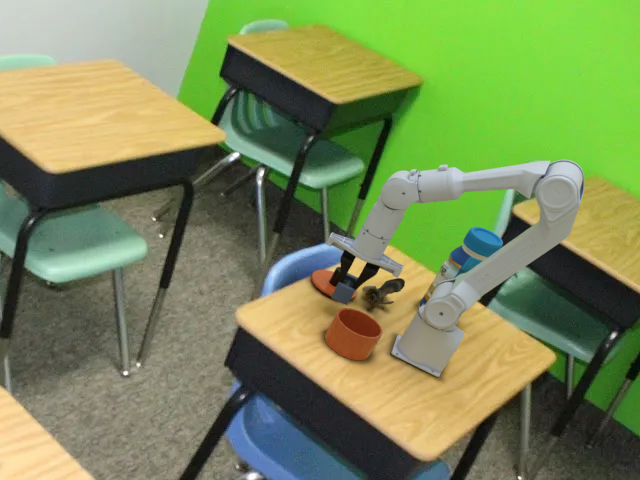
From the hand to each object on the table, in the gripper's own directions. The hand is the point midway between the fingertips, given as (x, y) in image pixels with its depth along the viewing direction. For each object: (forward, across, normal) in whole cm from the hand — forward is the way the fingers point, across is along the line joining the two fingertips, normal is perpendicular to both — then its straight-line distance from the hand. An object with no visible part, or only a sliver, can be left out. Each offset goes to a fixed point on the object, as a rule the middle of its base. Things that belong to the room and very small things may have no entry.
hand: (345, 289), depth 181 cm
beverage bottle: (+6, -19, -18) cm, 27 cm away
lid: (+5, +2, -9) cm, 10 cm away
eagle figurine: (+6, -7, -11) cm, 14 cm away
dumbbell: (+1, 0, 0) cm, 1 cm away
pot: (+6, -5, +10) cm, 12 cm away
